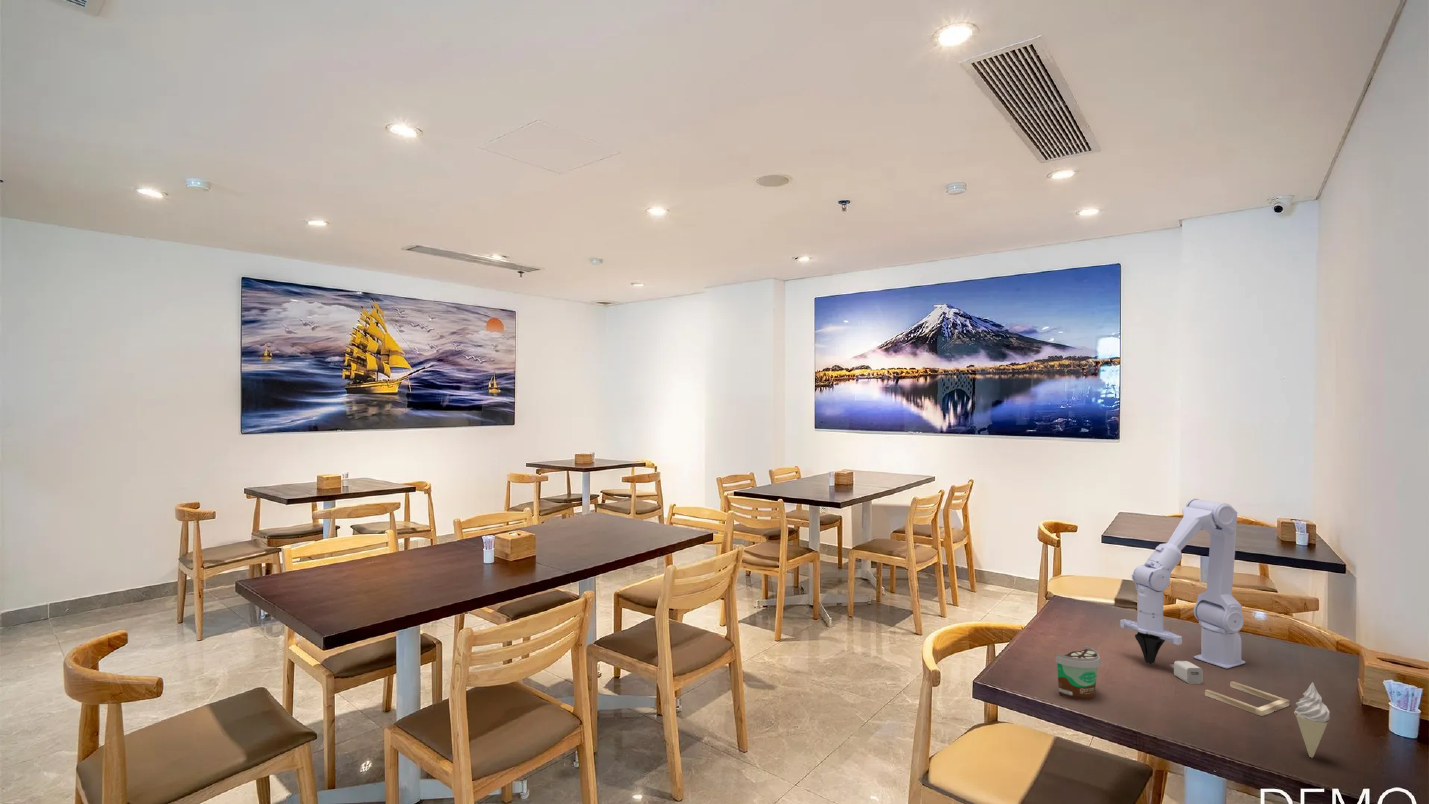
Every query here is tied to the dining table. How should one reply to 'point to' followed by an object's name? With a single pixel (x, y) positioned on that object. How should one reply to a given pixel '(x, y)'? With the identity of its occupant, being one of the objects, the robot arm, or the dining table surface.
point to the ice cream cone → (1312, 718)
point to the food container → (1078, 673)
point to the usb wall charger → (1188, 672)
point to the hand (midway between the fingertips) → (1149, 662)
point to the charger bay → (1261, 711)
